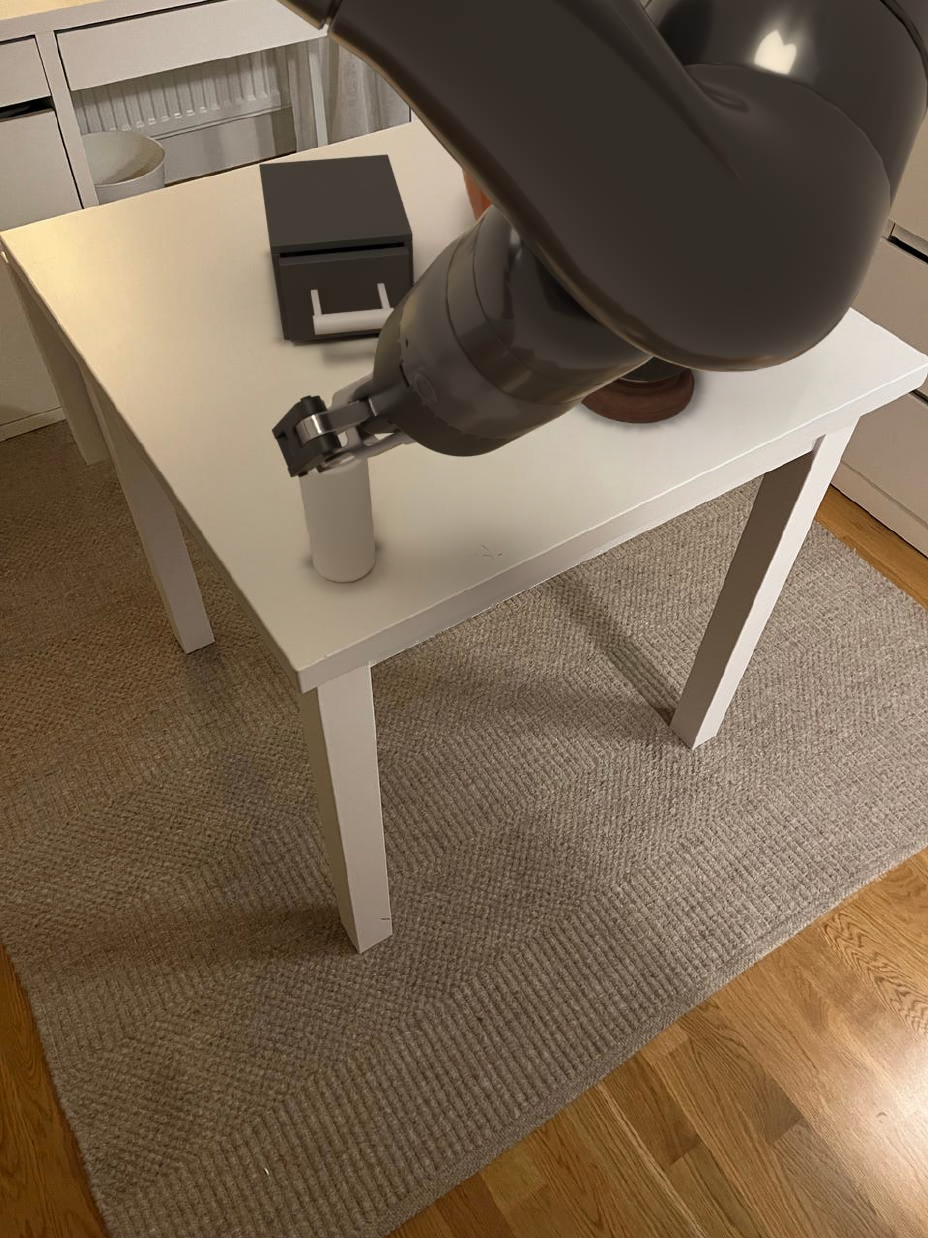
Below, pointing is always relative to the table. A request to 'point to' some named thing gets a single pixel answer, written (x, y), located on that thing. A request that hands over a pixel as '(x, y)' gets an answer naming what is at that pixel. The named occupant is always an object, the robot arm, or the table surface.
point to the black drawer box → (332, 209)
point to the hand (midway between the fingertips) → (386, 428)
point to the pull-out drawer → (343, 289)
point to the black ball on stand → (645, 393)
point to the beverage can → (340, 519)
